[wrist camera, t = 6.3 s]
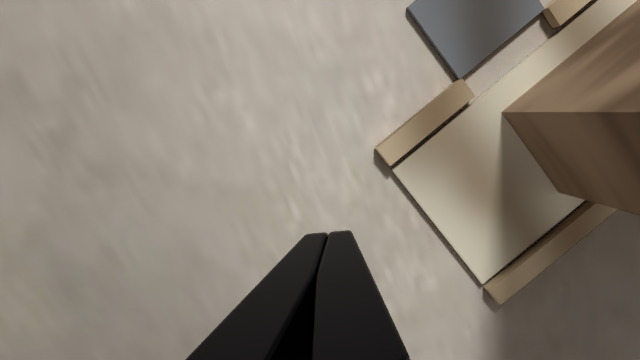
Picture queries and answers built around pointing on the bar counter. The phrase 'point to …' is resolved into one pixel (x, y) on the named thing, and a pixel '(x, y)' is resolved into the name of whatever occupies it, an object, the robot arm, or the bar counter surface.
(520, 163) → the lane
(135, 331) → the bar counter surface
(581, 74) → the walnut block
